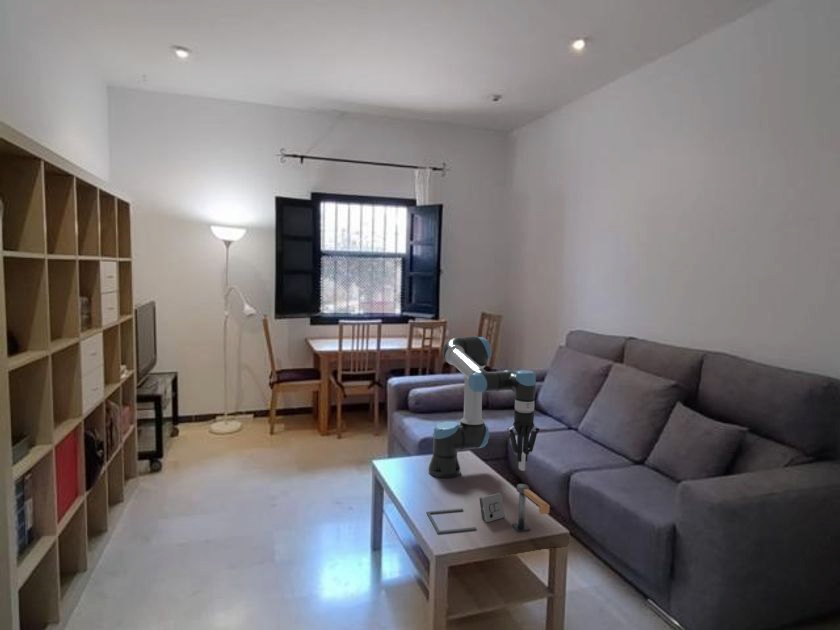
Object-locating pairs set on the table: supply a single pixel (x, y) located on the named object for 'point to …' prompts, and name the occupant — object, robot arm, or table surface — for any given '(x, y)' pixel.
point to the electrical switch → (492, 507)
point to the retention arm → (534, 498)
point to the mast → (521, 515)
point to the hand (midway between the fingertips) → (521, 469)
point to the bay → (447, 530)
